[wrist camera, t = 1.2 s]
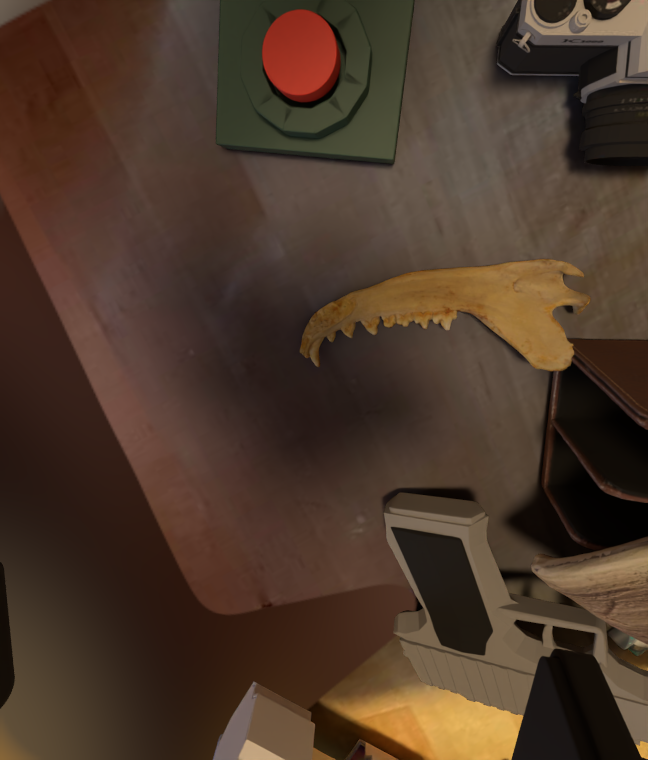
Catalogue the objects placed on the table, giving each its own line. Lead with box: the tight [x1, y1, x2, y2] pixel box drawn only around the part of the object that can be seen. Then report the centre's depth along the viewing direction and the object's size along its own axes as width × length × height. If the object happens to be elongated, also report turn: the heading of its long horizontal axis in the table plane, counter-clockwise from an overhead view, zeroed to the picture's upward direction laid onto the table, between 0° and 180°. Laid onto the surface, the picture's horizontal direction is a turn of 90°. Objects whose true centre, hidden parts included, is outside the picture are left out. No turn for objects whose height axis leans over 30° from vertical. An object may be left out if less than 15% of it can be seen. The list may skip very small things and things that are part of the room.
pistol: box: [384, 493, 648, 745], centre depth 32 cm, size 25×3×15 cm
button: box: [262, 9, 341, 102], centre depth 26 cm, size 4×4×2 cm
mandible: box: [300, 259, 590, 371], centre depth 32 cm, size 6×17×3 cm, turn 94°
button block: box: [216, 0, 415, 164], centre depth 29 cm, size 10×8×4 cm
